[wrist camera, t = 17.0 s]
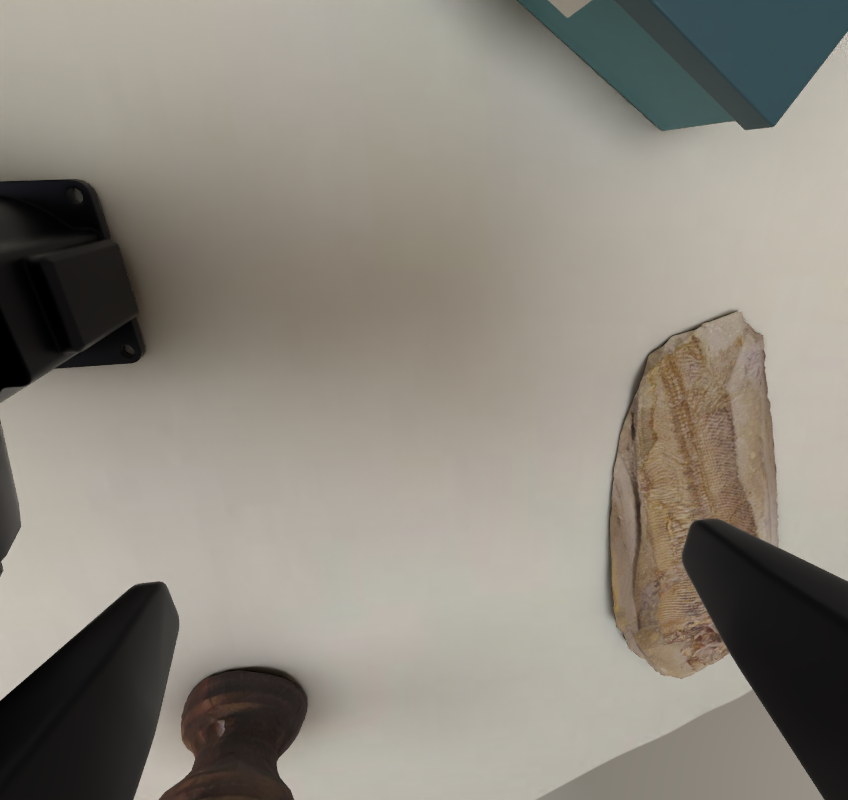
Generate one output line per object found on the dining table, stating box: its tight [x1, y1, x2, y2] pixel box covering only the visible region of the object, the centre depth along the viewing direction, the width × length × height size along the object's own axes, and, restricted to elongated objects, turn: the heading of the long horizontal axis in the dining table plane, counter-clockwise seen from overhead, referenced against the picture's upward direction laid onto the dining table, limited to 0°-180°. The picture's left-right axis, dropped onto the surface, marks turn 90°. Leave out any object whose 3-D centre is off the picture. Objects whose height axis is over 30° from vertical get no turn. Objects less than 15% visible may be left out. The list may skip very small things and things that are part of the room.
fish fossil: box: [610, 312, 778, 679], centre depth 27 cm, size 26×10×1 cm, turn 21°
